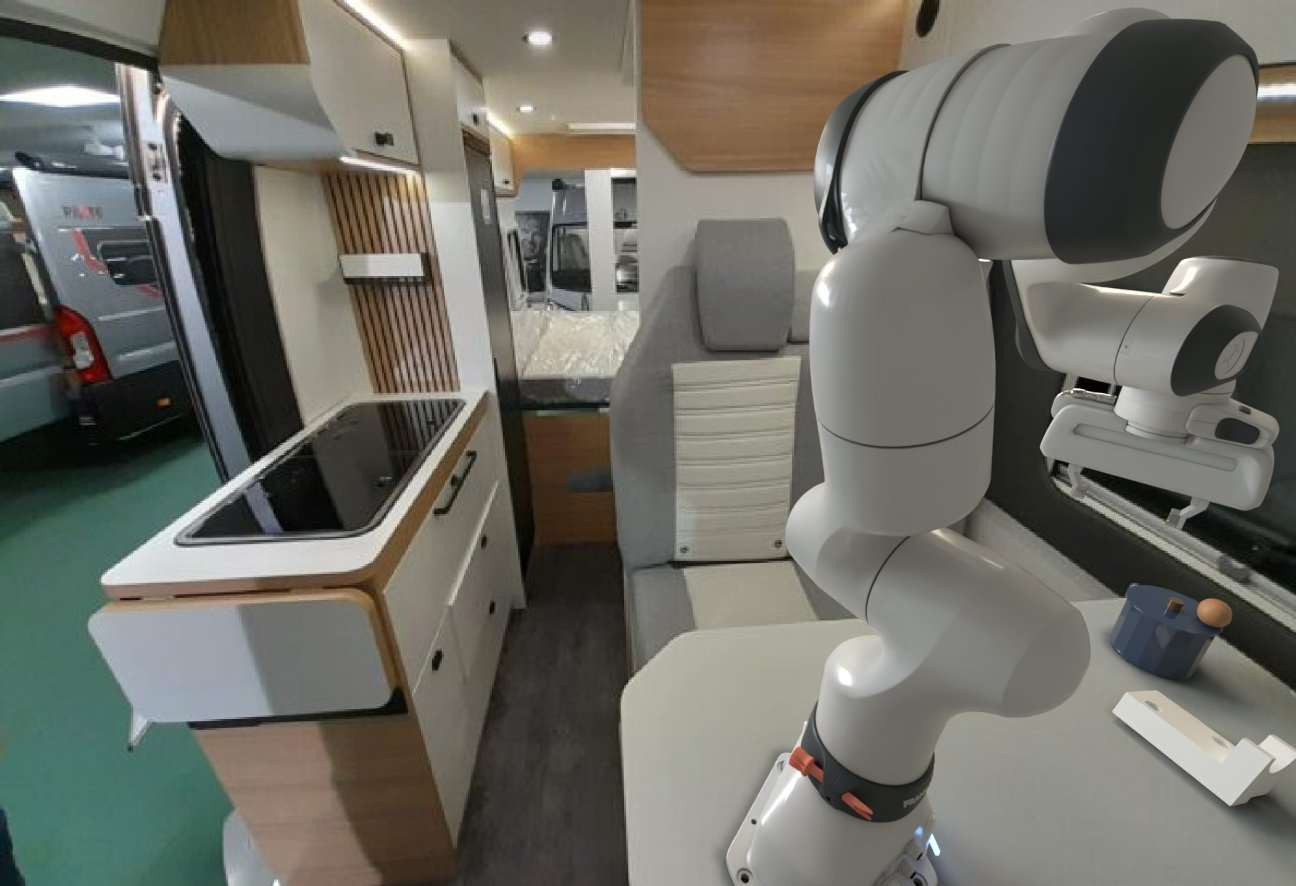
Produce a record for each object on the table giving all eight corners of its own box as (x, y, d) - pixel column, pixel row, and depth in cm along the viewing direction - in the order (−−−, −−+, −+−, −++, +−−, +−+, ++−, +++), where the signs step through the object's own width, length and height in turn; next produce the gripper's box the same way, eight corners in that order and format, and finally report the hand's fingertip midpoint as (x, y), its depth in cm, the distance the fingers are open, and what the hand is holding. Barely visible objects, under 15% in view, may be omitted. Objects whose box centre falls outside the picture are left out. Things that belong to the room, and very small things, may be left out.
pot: (1189, 691, 77) (1215, 646, 74) (1102, 651, 84) (1123, 609, 80) (1196, 655, 83) (1220, 612, 80) (1115, 621, 90) (1134, 580, 86)
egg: (1215, 636, 75) (1238, 623, 73) (1189, 617, 77) (1210, 604, 75) (1218, 620, 78) (1240, 607, 76) (1192, 603, 80) (1213, 590, 78)
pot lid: (1217, 652, 73) (1225, 638, 72) (1117, 611, 81) (1124, 598, 79) (1222, 615, 80) (1230, 602, 79) (1130, 581, 87) (1136, 568, 86)
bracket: (1261, 799, 64) (1303, 753, 61) (1230, 806, 61) (1272, 758, 59) (1142, 709, 75) (1173, 667, 73) (1111, 711, 73) (1142, 668, 70)
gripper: (1052, 390, 66) (1019, 488, 72) (1299, 439, 52) (1235, 556, 58) (1065, 380, 70) (1033, 473, 76) (1298, 424, 56) (1238, 534, 62)
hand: (1122, 510), depth 67 cm, fingers open, 8 cm apart
